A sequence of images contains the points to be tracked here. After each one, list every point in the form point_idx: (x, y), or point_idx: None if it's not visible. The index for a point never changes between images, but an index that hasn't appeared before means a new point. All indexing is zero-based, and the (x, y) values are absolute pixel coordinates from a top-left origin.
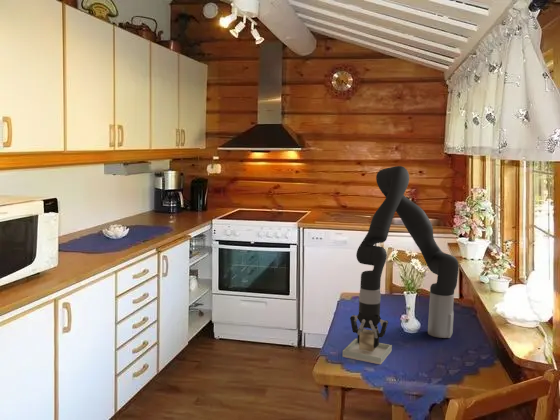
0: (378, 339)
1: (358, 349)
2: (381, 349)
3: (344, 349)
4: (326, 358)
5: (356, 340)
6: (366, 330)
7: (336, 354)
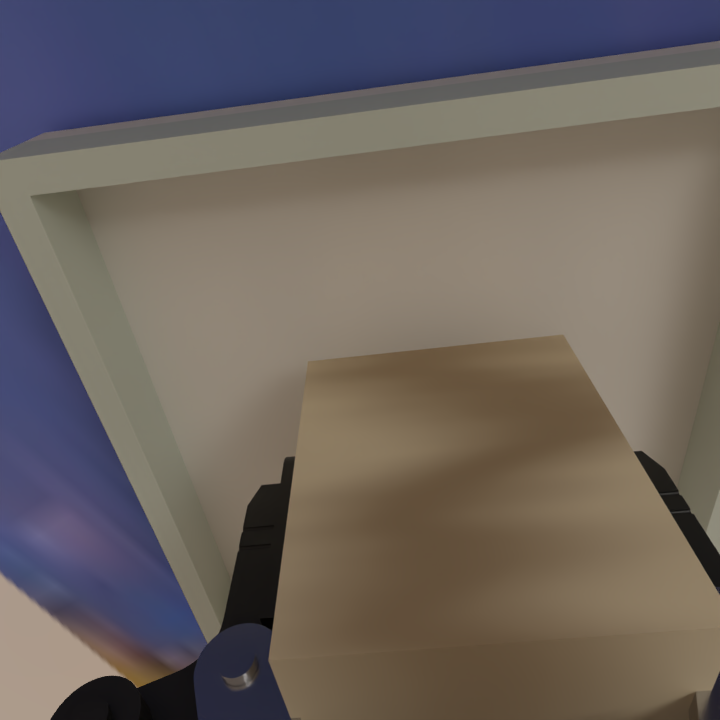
0: (707, 573)
1: (278, 405)
2: (616, 195)
3: (204, 624)
4: (129, 648)
5: (46, 196)
6: (393, 703)
7: (127, 553)
